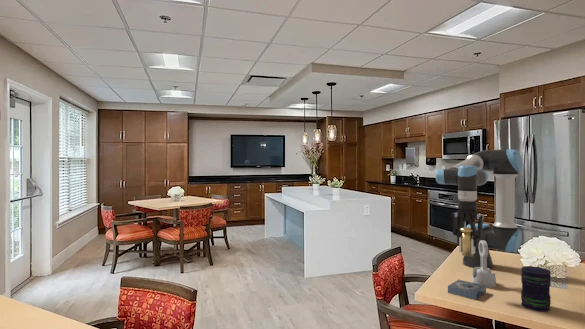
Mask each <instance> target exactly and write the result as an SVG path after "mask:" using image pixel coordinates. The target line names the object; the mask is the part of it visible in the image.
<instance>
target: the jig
mask: <svg viewBox="0 0 585 329" xmlns="http://www.w3.org/2000/svg"><path fill="white" fill-rule="evenodd" d="M447 293H448V294H453V295H456V296H459V297H463V298H467V299H471V300H476V301H477V300H479V299H480V298H481V297H483V296H484V295H485V294H487V287H486V286H484V285H480V284H475V283H472V281H466V280H462V279H457V280H456V281H454V282H452V283H450V284H449V285H447Z"/></svg>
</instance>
